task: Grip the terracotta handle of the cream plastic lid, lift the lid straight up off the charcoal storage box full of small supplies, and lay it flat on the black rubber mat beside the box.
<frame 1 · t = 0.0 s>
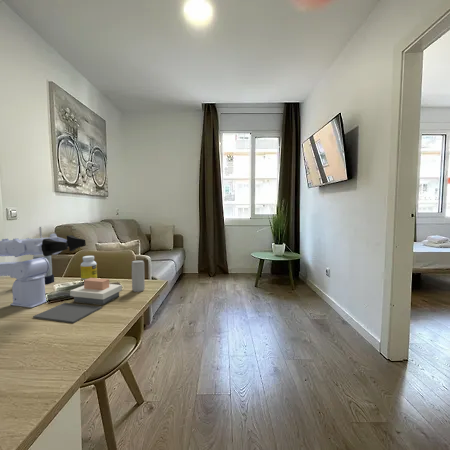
hand: (76, 244, 89), 22 cm above the table, tool horizontal, fingers open, 7 cm apart
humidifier: (43, 283, 120), on the table
pill bottle: (89, 282, 121), on the table
storage box: (97, 299, 99), on the table
lid: (97, 293, 99), point 2 cm above the table, touching storage box
mat: (68, 312, 87), on the table
beverage can: (138, 290, 110), on the table
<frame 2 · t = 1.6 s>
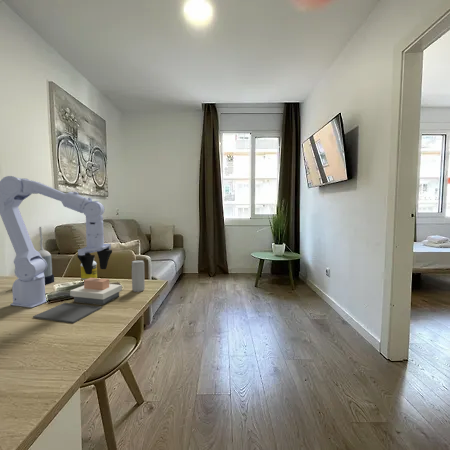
hand: (96, 271, 98), 10 cm above the table, tool pointing down, fingers open, 7 cm apart
nothing on the table moved.
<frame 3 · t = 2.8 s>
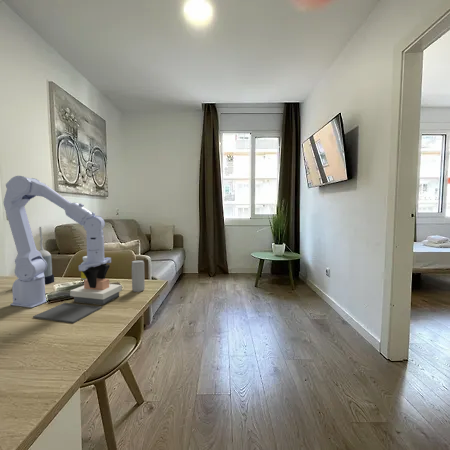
hand: (96, 285, 99), 5 cm above the table, tool pointing down, fingers closed on lid, 3 cm apart
lid: (97, 293, 99), point 2 cm above the table, touching gripper, storage box
everything else where it was.
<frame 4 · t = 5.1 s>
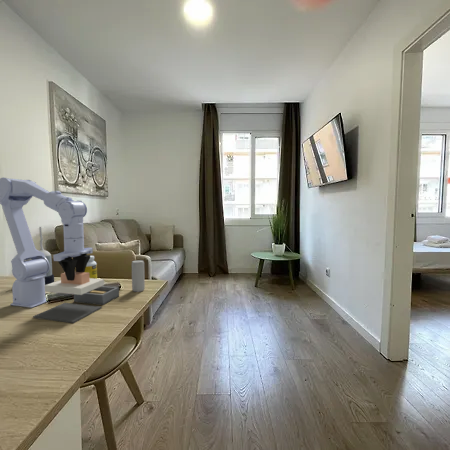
hand: (75, 278, 89), 10 cm above the table, tool pointing down, fingers closed on lid, 3 cm apart
lid: (75, 288, 89), point 7 cm above the table, touching gripper
everything else where it was.
when the fingers open (4 cm above the table, at t = 7.3 s): lid stays where it is, resting on mat.
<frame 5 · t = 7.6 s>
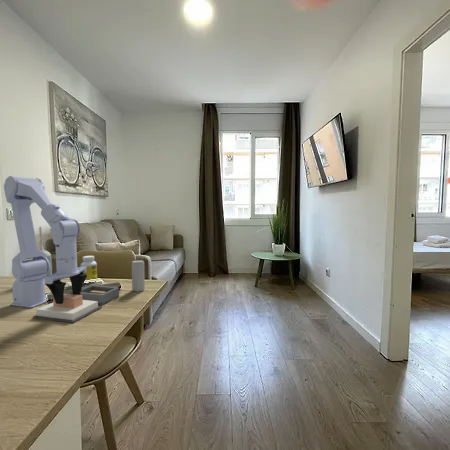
hand: (68, 299, 86), 4 cm above the table, tool pointing down, fingers open, 6 cm apart
lid: (68, 311, 87), resting on mat
everything else where it was.
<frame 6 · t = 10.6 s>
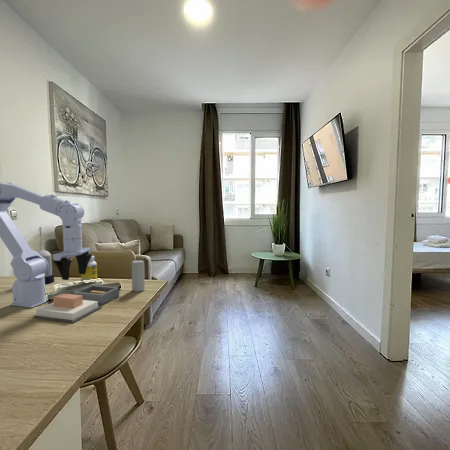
hand: (74, 276, 95), 9 cm above the table, tool pointing down, fingers open, 7 cm apart
nothing on the table moved.
at the end: lid inside the target area on the mat (0.2 cm from its centre), point 0.5 cm above the mat's base; lid tilted 0°; the gripper is holding nothing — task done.
